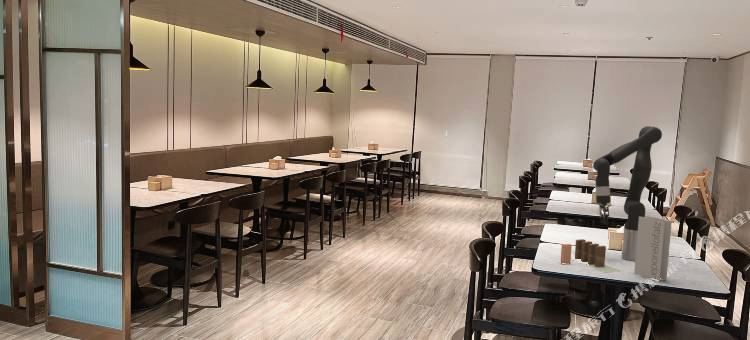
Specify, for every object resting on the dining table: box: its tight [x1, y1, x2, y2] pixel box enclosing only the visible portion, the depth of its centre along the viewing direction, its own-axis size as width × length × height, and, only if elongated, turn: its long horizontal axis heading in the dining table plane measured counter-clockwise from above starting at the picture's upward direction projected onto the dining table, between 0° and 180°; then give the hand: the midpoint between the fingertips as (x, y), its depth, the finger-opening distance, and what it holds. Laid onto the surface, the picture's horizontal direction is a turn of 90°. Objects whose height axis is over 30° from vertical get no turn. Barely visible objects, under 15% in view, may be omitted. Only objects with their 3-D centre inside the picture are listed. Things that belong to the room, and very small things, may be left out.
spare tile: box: [560, 243, 573, 264], centre depth 303 cm, size 2×5×11 cm, turn 112°
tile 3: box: [581, 240, 593, 262], centre depth 308 cm, size 2×5×11 cm, turn 112°
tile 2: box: [574, 238, 587, 259], centre depth 313 cm, size 2×5×11 cm, turn 112°
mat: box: [588, 264, 622, 273], centre depth 307 cm, size 36×11×1 cm, turn 22°
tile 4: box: [588, 243, 600, 265], centre depth 303 cm, size 2×5×11 cm, turn 112°
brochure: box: [633, 215, 673, 282], centre depth 282 cm, size 14×6×30 cm, turn 27°
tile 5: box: [594, 245, 607, 267], centre depth 299 cm, size 2×5×11 cm, turn 112°
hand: (604, 223), depth 313 cm, fingers open, 8 cm apart
